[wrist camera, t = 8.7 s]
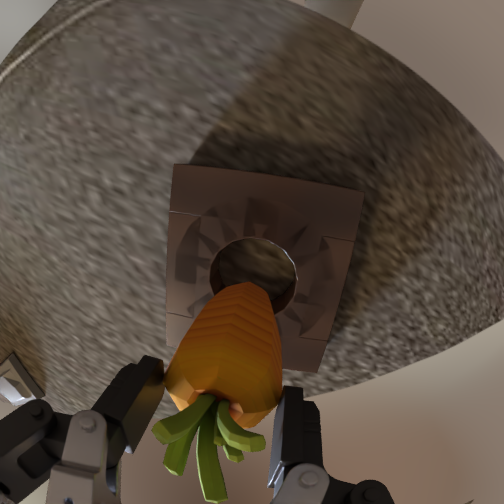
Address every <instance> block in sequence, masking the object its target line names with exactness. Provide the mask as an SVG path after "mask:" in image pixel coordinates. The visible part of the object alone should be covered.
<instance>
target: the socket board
mask: <svg viewBox="0 0 504 504" xmlns="http://www.w3.org/2000/svg"><path fill="white" fill-rule="evenodd" d="M364 196H365V192H363V191H359V190H356V189H352V188H347V187H342V186H338V185H333V184H327V183H322V182H317V181H311V180H306V179H300V178H294V177H288V176H282V175H276V174H269V173H262V172H255V171H248V170H240V169H232V168H223V167H214V166H205V165H194V164H174V167H173V177H172V187H171V198H170V212H169V225H168V243H167V268H166V345H168V346H172V347H176V348H178V346H179V344H180V342H181V341H182V339H183V338H184V336H185V334H186V333H187V331H188V330H189V328H190V327H191V325H192V323H193V322H194V320H195V319H196V317H197V316H198V315H199V313H200V312H201V311H202V309H203V308H204V306H205V305H206V304H207V302H208V301H210V300H211V299H212V298H213V297H214V296H215V295H216V294H217V293H219V292H220V291H221V290H223V289H224V288H226V286H225V285H224V284H223V282H222V279H221V276H220V273H219V270H218V265H219V256H220V253H221V251H222V249H223V248H225V247H226V246H227V245H229V244H230V243H231V242H233V241H237V240H242V239H246V238H256V239H262V240H268V241H269V242H271V243H273V244H274V245H276V246H278V247H279V248H281V249H283V250H284V251H285V253H286V254H287V256H288V257H289V258H290V260H291V261H292V262H293V264H294V268H295V275H294V280H293V282H292V284H291V285H290V287H289V288H288V290H287V291H286V292H285V293H284V294H283V295H281V296H280V297H278V298H276V299H275V300H273V301H270V302H271V306H272V309H273V313H274V316H275V320H276V323H277V327H278V331H279V336H280V340H281V352H282V369H289V370H297V371H305V372H313V373H317V371H318V368H319V366H320V363H321V360H322V357H323V354H324V351H325V348H326V345H327V342H328V339H329V336H330V332H331V329H332V326H333V323H334V319H335V316H336V313H337V309H338V306H339V302H340V299H341V295H342V292H343V288H344V284H345V281H346V277H347V273H348V269H349V265H350V261H351V257H352V253H353V248H354V244H355V240H356V236H357V231H358V226H359V222H360V217H361V212H362V206H363V201H364Z"/></svg>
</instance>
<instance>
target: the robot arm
mask: <svg viewBox="0 0 504 504" xmlns="http://www.w3.org/2000/svg"><path fill="white" fill-rule="evenodd" d="M163 377H164V364H163V360H161V359H158V358H154V357H151V356H147V355H144V356H143V357H142V359H141V360H140V362H139V363H138V364H137V365H136V364H133V363H130V364H128V365H127V366H125V367H123V368H122V369H121V370H120V371H119V372H118V374H117V375H116V376H115V379H113V380H112V382H111V383H110V385H109V386H108V387H107V388H106V390H105V391H104V392H103V394H102V395H101V396H100V398H99V399H98V400H97V402H96V403H95V404H94V406H93V407H92V408H91V409H90V410H82V411H79V412H77V413H76V414H74V415H68V414H63V413H58V412H54V411H53V409H52V407H51V406H50V404H49V403H48V402H46V401H44V400H41V399H33V400H30V401H28V402H27V403H25V404H24V405H22V406H21V407H19V408H18V409H16V410H15V411H13V412H12V413H10V414H9V415H7V416H6V417H4V418H3V419H1V420H0V504H18V503H19V502H21V501H22V500H23V499H24V498H26V497H27V496H28V495H29V494H30V493H32V492H33V491H34V490H35V489H37V488H38V487H39V486H40V485H41V484H43V483H44V482H45V481H47V480H48V479H49V478H50V479H49V485H48V491H47V497H46V504H121V499H120V489H121V488H120V487H121V462H122V461H121V456H122V455H123V453H124V451H126V452H129V453H131V454H133V453H134V451H135V449H136V447H137V445H138V443H139V442H140V440H141V438H142V436H143V434H144V432H145V430H146V428H147V426H148V424H149V422H150V420H151V418H152V416H153V415H154V413H155V411H156V409H157V407H158V405H159V403H160V401H161V399H162V397H163V394H164V390H165V386H164V384H163ZM273 429H274V430H273V439H272V450H271V459H270V468H269V477H268V486H267V487H268V488H274V498H273V499H272V501H271V502H270V504H394V501H393V499H392V497H391V495H390V493H389V491H388V490H387V488H386V486H385V485H384V484H382V483H381V482H379V481H376V480H364V481H362V482H360V483H358V484H357V485H355V484H351V483H347V482H343V481H340V480H337V479H334V478H333V477H331V476H330V475H329V474H328V473H327V472H326V470H325V468H324V466H323V457H322V440H321V425H320V412H319V410H318V408H317V406H316V405H315V403H314V402H313V401H304V400H303V388H301V387H293V386H285V385H284V387H283V390H282V393H281V396H280V401H279V403H278V406H277V409H276V414H275V419H274V428H273Z"/></svg>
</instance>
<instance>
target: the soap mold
mask: <svg viewBox="0 0 504 504" xmlns="http://www.w3.org/2000/svg"><path fill="white" fill-rule="evenodd" d="M0 393H1V394H2V395H3V396H5V397H6V398H7V399H8V400H10V401H11V403H12V404H13V405H14V406H16V405H20V404H24V403H27V402H28V401H30V400H33V399H40V398H42V397H44V396H45V395H44V394H43V392H42V391H41V390H40V389H39V387H38V386H37V385H36V384H35V382H34V381H33V380H32V379H31V377H30V376H29V375H28V373H27V372H26V371H25V369H24V368H23V367H22V365H21V364H20V362H19V361H18V359H17V358H16V357H15V355H14V354H13V353H12V354H11V355H10V356H9V357H8V358H7V359H6V360H5V361H4V362H3V363H2V364H1V365H0Z"/></svg>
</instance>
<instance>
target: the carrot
mask: <svg viewBox="0 0 504 504" xmlns="http://www.w3.org/2000/svg"><path fill="white" fill-rule="evenodd" d="M163 384H164V386H165V387H166V389H167V391H168V392H169V394H170V396H171V397H172V399H173V401H174V402H175V404H176V405H177V407H178V409H179V410H180V412H179V413H177V414H176V415H173V416H170V417H167V418H165V419H162V420H160V421H158V422H157V423H156V424H155V425H154V426H153V428H152V432H153V434H154V435H155V437H156V438H157V439H158V440H159V441H160V442H161V443H162V444H163V445H164V444H169V445H168V447H167V450H166V454H165V457H164V461H163V464H164V465H165V467H166V468H167V469H168V470H169V471H170V473H171V474H174V475H178V476H182V475H183V471H184V468H185V464H186V461H187V458H188V454H189V450H190V446H191V443H192V441H193V438H194V436H195V434H196V432H197V430H198V436H197V451H196V457H197V464H198V472H199V479H200V483H201V487H202V490H203V494H204V497H205V500H206V501H209V502H212V503H217V504H218V503H221V502H223V501H225V500H228V497H227V492H226V488H225V483H224V478H223V474H222V471H221V467H220V463H219V459H218V453H217V445H218V446H223V448H224V451H225V453H226V455H227V458H228V459H229V460H232V461H235V462H237V463H239V462H240V461H242V460H244V456H243V454H242V451H241V450H243V451H248V452H256V451H261V450H264V449H265V445H266V442H265V439H264V436H263V435H260V434H257V433H253V432H249V431H246V430H244V429H245V428H251V427H254V426H256V425H257V424H258V423H259V422H260V421H261V420H262V419H263V418H264V417H265V416H266V415H268V413H270V412H271V411H272V410H273V408H275V407H276V406H277V405H278V403H279V401H280V396H281V393H282V352H281V340H280V336H279V331H278V327H277V323H276V320H275V316H274V313H273V309H272V306H271V302H270V299H269V296H268V293H267V292H266V291H265V290H264V289H262V288H261V287H259V286H257V285H255V284H253V283H252V282H250V281H249V282H244V283H240V284H235V285H232V286H228V287H226V288H224V289H223V290H221V291H220V292H219V293H217V294H216V295H215V296H214V297H213V298H212V299H211V300H210V301H208V302H207V304H206V305H205V306H204V308H203V309H202V311H201V312H200V313H199V315H198V316H197V317H196V319H195V320H194V322H193V323H192V325H191V327H190V328H189V330H188V331H187V333H186V334H185V336H184V338H183V339H182V341H181V342H180V344H179V346H178V348H177V350H176V352H175V354H174V355H173V357H172V359H171V361H170V363H169V365H168V367H167V369H166V371H165V373H164V377H163Z"/></svg>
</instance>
